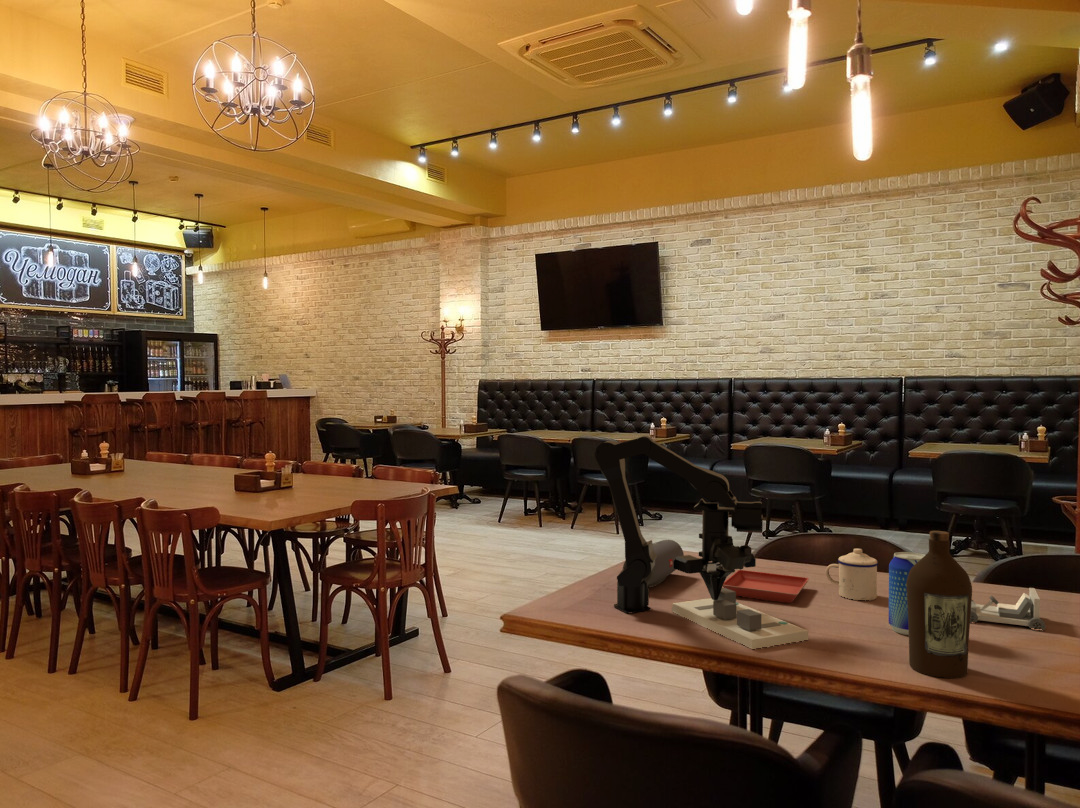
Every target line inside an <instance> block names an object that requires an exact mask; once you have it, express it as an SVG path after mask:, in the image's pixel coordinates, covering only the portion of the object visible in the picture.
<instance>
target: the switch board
mask: <svg viewBox="0 0 1080 808" xmlns="http://www.w3.org/2000/svg"><path fill="white" fill-rule="evenodd" d="M713 601H714V600H712V598H711V597H709V598H701V599H694V600H689V601H680V602H673V603H672V604H671V605H672V608H671V612H672V613H673V612H674V614H675V613H676V614H675V615H677V614H678V615H677V616H680V617H681V618H684V617H685V618H684V619H686V618H687V619H686V620H688V619H689V621H690V620H691V622H692V621H693V622H692V623H694V622H695V623H694V624H696V623H697V624H696V625H699V626H701V627H703V628H705V629H707V628H708V629H707V630H709V629H710V631H711V630H712V631H711V632H713V631H714V633H715V632H716V634H718V633H719V634H718V635H720V634H721V635H720V636H722V635H723V636H722V637H724V636H725V637H724V638H726V637H727V638H726V639H728V638H730V639H731V641H732V640H734V641H736V642H735V643H737V642H738V643H737V644H739V643H741V644H743V645H745V646H747V647H749V648H752V649H755V648H761V649H763V648H762V647H767V648H769V647H768V646H773V645H779V644H784V643H790V644H792V643H791V642H796V643H798V642H797V641H802V642H804V641H803V640H808V641H809V630H808V629H805V628H802V627H800V626H798V625H795V624H792V623H789V622H788V621H785V620H782V619H780V618H777V617H776V616H775V617H774V616H772V615H770V614H767V613H764V612H763V611H759V610H758V609H755V608H752V607H749V606H747V605H745V604H742V603H739V602H737V601H736V618H734V619H727V620H724V619H722V618H719V617H717V616H715V615H713ZM745 609H750V610H752V611H755V612H757V613H760V614H761V629H757V630H751V631H749V630H747V629H744V628H742V627H740V626H737V611H738V610H745ZM730 639H729V640H730ZM734 641H733V642H734ZM741 644H740V645H741ZM743 645H742V646H743ZM784 645H785V644H784ZM745 646H744V647H745ZM779 646H780V645H779ZM747 647H746V648H747ZM773 647H774V646H773ZM749 648H748V649H749ZM755 650H756V649H755Z"/></svg>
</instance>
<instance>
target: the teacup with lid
mask: <svg viewBox="0 0 1080 808" xmlns="http://www.w3.org/2000/svg"><path fill="white" fill-rule="evenodd" d="M837 562H838V563H831V564H829V565H828V566H826V567H825V577H826V578H827V580H828V581H829V582H830V583H831V584H834V585H837V586H838V594H839V596H840V597H841V596H842V597H841V598H844V597H845V598H844V599H847V598H848V599H847V600H851V599H853V600H852V601H858V600H865V601H864V602H867V601H866V600H869V601H874V600H875V599H877V597H878V593H877V592H878V582H877V580H878V565H879V563H878V560H877V559H876V558H874V557H871V556H869V555H868V554H866V553H863V549H862V548H853V551H852V552H849V553H848V554H845V555H841V556H839V557H838V559H837ZM831 568H838V580H834V579H833V578H832V577H831V574H830V569H831Z"/></svg>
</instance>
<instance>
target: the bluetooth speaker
mask: <svg viewBox="0 0 1080 808" xmlns="http://www.w3.org/2000/svg"><path fill="white" fill-rule="evenodd" d="M652 543H653V542H652ZM653 550H654V552H655V554H656V555H657V557H656V559H655V565H654V567H653V569H652V571H651V572H650V574H649V575H648V576H647V577H646V578H644V579H643V581H646V582H647V587H648V588H653V587H656V586H657V584H658V585H659V584H661V583H663V582H664V581H665V580H666V578H667V577H668V576H669V575H671V574H673V572H675V571H676V569H674V559H675V558H676V557H677V556H685V554H684V551H683V548H682V547H681V544H679V543H678V541H675V540H673V539H662V540H659V541H656V542H654V543H653ZM625 566H626V560H624V562H623V566H622V569H623V568H624V567H625ZM655 585H656V586H655ZM652 586H653V587H652Z"/></svg>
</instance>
